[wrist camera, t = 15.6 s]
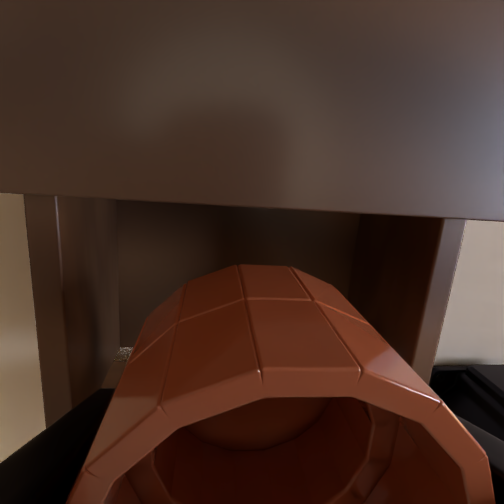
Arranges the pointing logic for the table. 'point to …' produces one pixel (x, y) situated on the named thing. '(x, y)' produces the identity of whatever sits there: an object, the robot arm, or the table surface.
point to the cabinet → (257, 103)
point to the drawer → (213, 259)
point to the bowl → (274, 406)
